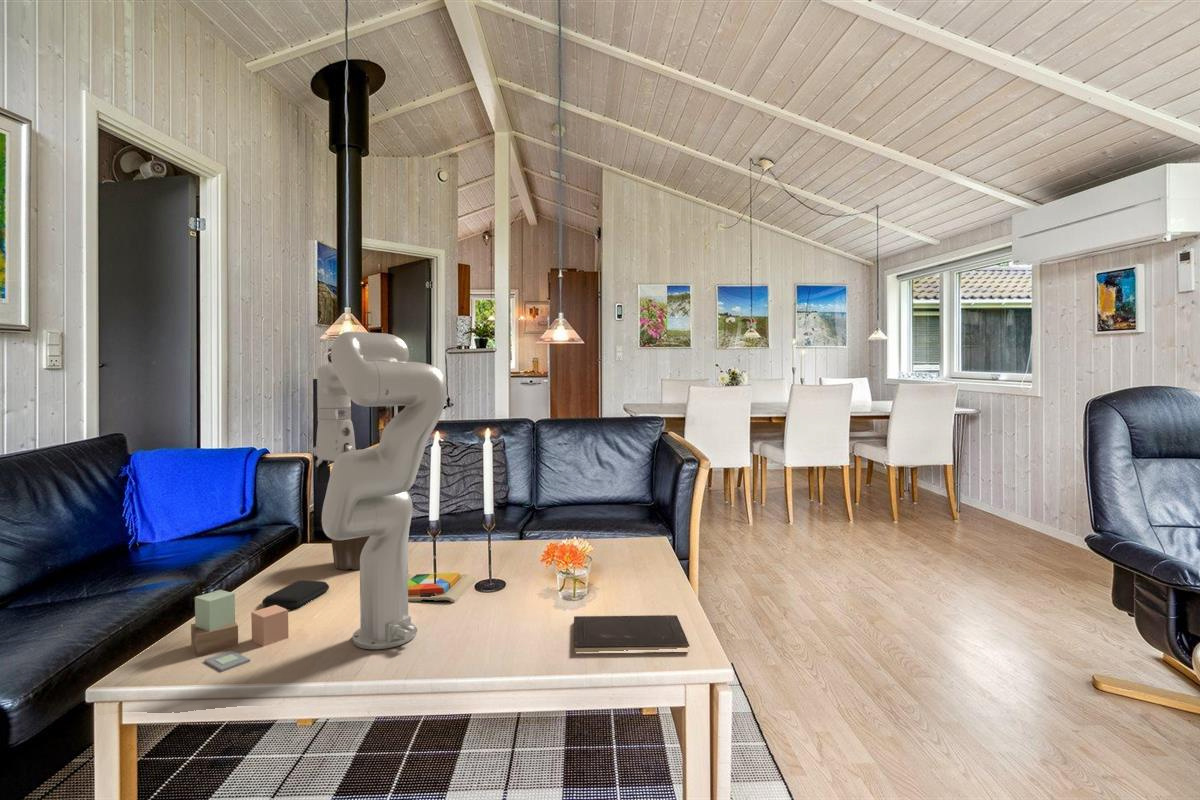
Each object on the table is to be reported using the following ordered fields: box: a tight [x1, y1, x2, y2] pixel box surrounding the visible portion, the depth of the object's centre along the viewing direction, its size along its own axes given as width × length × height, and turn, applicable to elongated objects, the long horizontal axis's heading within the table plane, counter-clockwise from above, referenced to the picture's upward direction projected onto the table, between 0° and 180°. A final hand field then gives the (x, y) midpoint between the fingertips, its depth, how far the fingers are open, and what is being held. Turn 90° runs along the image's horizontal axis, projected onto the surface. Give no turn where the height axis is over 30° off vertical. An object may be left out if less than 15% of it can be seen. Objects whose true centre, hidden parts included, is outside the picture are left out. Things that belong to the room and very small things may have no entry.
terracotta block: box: [250, 605, 290, 647], centre depth 127 cm, size 5×5×6 cm
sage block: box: [194, 589, 236, 631], centre depth 123 cm, size 5×5×6 cm
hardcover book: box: [573, 614, 690, 653], centre depth 128 cm, size 16×23×2 cm
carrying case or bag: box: [261, 580, 330, 611], centre depth 150 cm, size 11×3×15 cm
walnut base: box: [190, 621, 239, 658], centre depth 123 cm, size 7×7×4 cm
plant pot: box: [331, 536, 370, 571], centre depth 178 cm, size 16×16×16 cm
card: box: [203, 649, 251, 672], centre depth 116 cm, size 7×5×1 cm
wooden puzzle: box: [408, 572, 476, 603], centre depth 157 cm, size 18×19×4 cm
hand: (335, 484), depth 150 cm, fingers open, 9 cm apart
